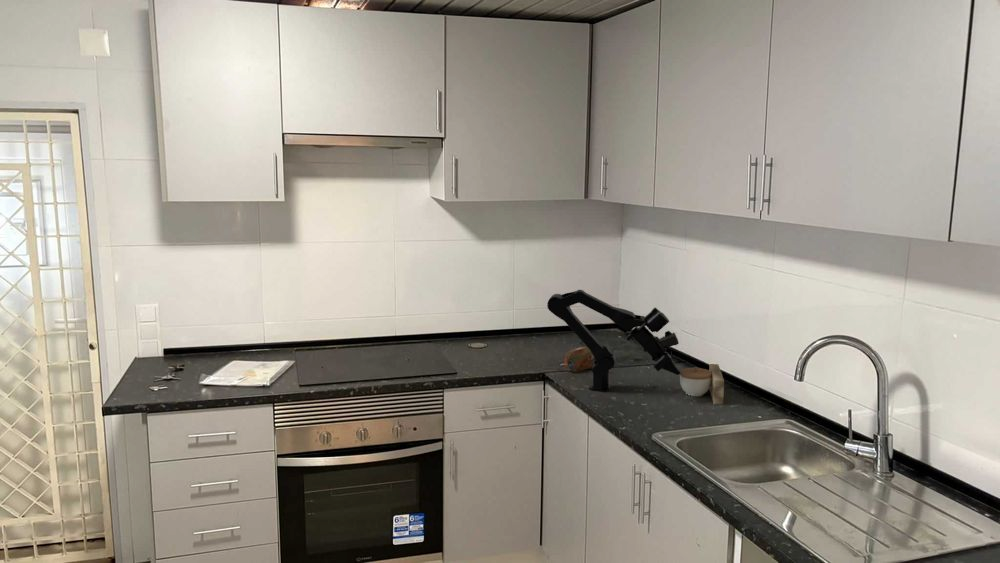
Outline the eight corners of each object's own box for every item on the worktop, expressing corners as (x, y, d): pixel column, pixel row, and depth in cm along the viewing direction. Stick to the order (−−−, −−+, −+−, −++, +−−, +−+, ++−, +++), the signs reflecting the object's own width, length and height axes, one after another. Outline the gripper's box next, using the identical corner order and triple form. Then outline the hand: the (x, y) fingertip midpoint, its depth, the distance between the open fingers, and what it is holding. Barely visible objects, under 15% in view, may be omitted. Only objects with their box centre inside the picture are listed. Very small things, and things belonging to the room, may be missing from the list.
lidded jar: (716, 397, 250) (717, 370, 249) (685, 399, 249) (686, 372, 247) (703, 388, 261) (704, 362, 259) (674, 389, 260) (675, 363, 258)
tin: (568, 373, 279) (568, 352, 278) (562, 372, 282) (562, 350, 280) (596, 366, 289) (596, 345, 287) (590, 365, 291) (590, 344, 290)
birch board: (713, 403, 244) (714, 380, 243) (708, 385, 264) (709, 363, 262) (723, 404, 244) (724, 380, 242) (717, 386, 263) (718, 364, 262)
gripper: (665, 331, 244) (698, 366, 244) (664, 319, 262) (695, 351, 262) (640, 353, 247) (673, 387, 247) (640, 340, 265) (671, 371, 265)
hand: (678, 373), depth 255 cm, fingers closed, pressing on lidded jar
